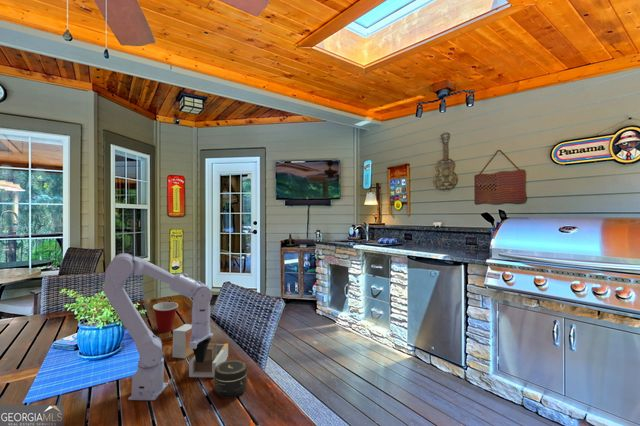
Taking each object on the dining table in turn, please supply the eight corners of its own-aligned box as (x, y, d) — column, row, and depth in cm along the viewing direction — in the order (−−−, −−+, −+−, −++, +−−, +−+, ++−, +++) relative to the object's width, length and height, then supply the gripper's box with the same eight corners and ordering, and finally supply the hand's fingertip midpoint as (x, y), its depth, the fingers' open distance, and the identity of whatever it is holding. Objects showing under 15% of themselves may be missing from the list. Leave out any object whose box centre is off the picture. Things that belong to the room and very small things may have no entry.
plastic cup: (155, 336, 147) (156, 309, 147) (149, 329, 156) (150, 304, 156) (180, 331, 154) (181, 305, 154) (174, 325, 163) (174, 300, 163)
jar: (230, 403, 98) (231, 377, 98) (206, 393, 102) (207, 369, 102) (253, 388, 106) (253, 364, 106) (230, 379, 111) (230, 357, 111)
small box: (184, 359, 126) (185, 331, 126) (171, 357, 127) (172, 330, 127) (196, 350, 134) (197, 324, 134) (184, 349, 135) (185, 323, 135)
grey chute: (215, 377, 112) (215, 362, 112) (188, 377, 112) (189, 361, 112) (227, 356, 128) (228, 343, 128) (204, 356, 128) (204, 343, 128)
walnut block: (211, 371, 114) (212, 349, 114) (195, 371, 114) (196, 348, 114) (216, 365, 119) (216, 343, 119) (200, 364, 119) (201, 343, 119)
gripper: (205, 328, 103) (204, 372, 103) (219, 314, 117) (218, 352, 117) (182, 328, 103) (182, 372, 103) (199, 314, 117) (198, 352, 117)
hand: (200, 361), depth 110 cm, fingers closed
